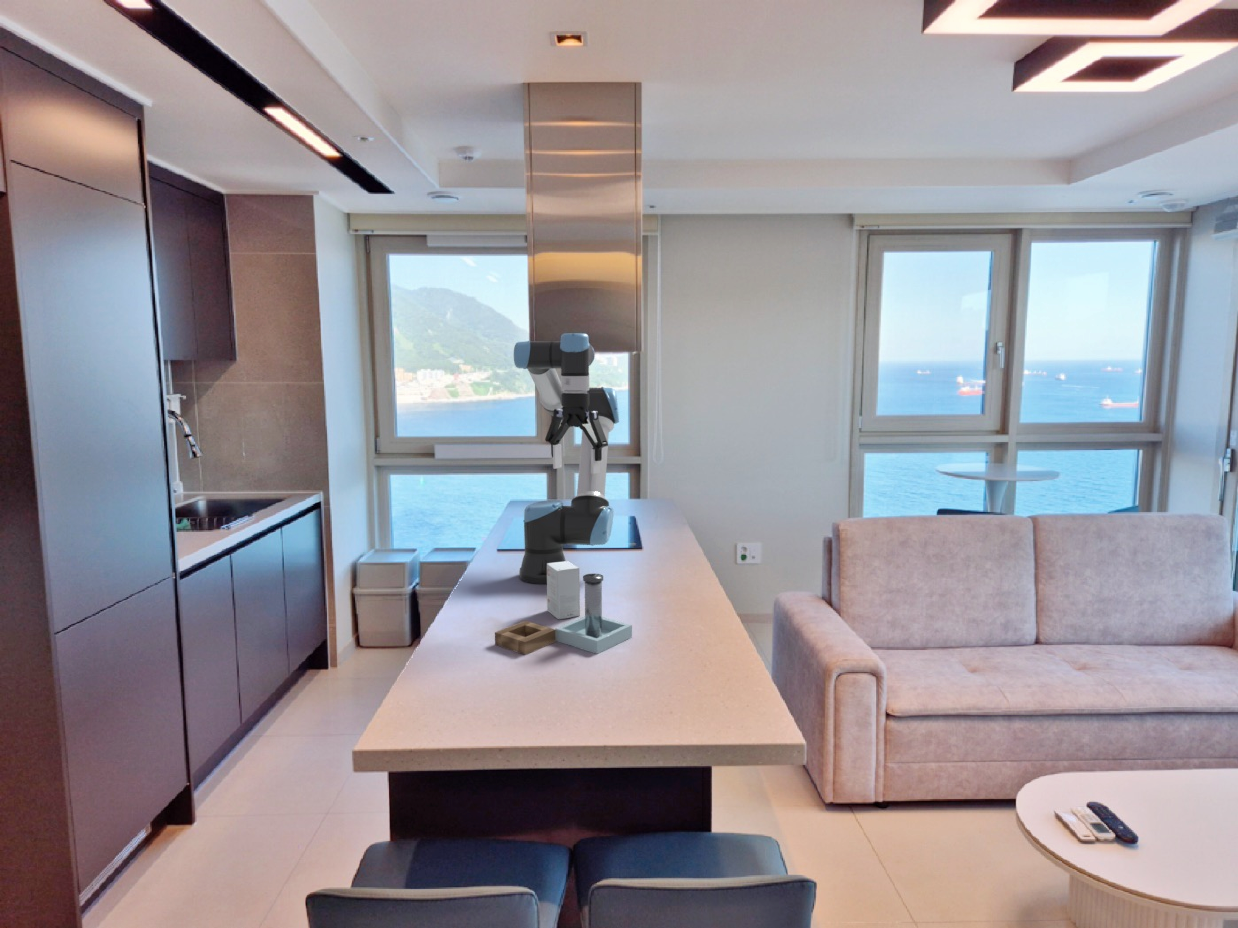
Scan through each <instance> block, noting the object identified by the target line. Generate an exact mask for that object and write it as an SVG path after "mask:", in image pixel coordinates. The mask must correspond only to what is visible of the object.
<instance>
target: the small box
mask: <svg viewBox="0 0 1238 928" xmlns="http://www.w3.org/2000/svg"><path fill="white" fill-rule="evenodd" d="M580 582H581V581H580V567H578V566H577V565H575V564H573V563H572V562H570V561H569V560H566V561H564V562H555V563H547V584H546V610H547V612H549V613H550V614H551V615H552V616H553V617H554V618H556V619H557V620H563V619H570V618H575V617H580V616H581V615H580V614H581V606H580V605H581V604H580V600H581V598H580V597H581V595H580V593H581V591H580V590H581V589H580V584H581V583H580Z"/></svg>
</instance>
